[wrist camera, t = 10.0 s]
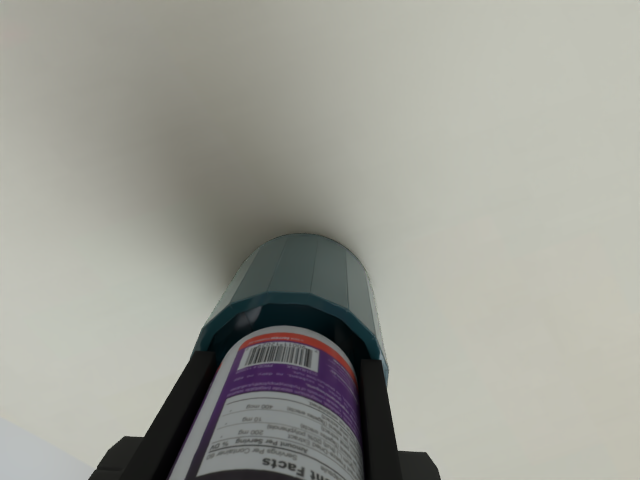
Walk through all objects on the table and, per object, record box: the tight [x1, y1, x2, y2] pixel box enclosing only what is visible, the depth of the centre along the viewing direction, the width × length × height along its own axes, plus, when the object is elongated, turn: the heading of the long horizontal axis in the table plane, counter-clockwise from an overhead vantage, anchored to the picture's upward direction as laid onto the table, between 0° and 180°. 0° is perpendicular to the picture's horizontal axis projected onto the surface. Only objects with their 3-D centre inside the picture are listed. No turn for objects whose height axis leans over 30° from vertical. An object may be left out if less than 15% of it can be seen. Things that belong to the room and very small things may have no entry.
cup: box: [190, 233, 389, 389], centre depth 18 cm, size 8×8×7 cm
